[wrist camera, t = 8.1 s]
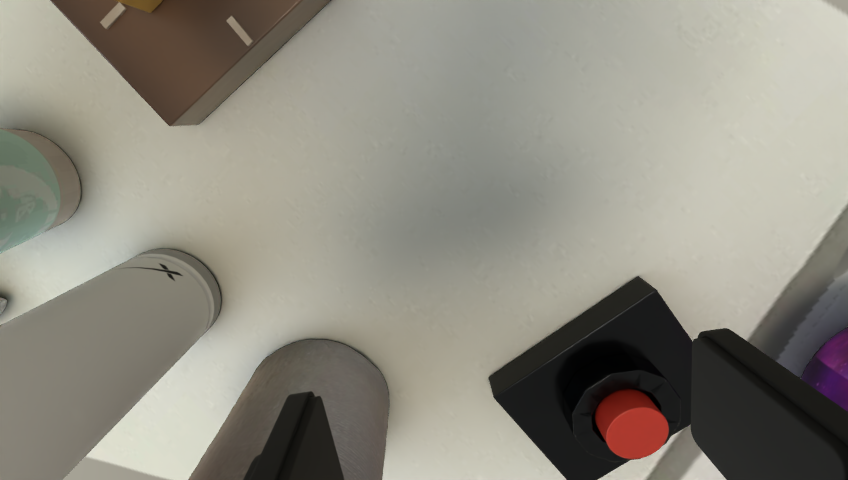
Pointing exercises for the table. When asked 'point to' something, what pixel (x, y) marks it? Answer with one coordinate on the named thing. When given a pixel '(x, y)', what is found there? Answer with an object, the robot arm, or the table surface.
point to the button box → (598, 378)
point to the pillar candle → (325, 376)
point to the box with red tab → (142, 4)
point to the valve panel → (188, 46)
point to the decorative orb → (831, 369)
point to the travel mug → (95, 358)
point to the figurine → (2, 304)
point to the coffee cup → (33, 186)
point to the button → (631, 424)
